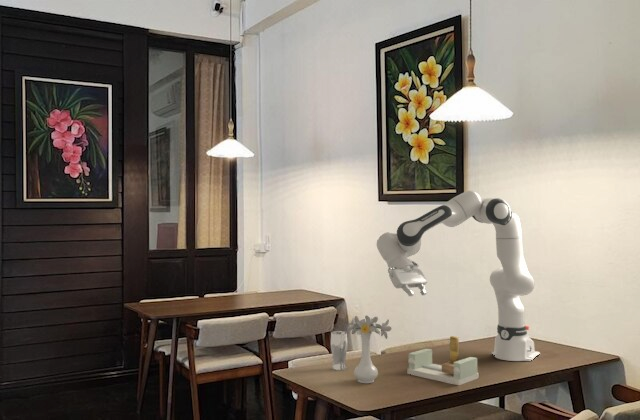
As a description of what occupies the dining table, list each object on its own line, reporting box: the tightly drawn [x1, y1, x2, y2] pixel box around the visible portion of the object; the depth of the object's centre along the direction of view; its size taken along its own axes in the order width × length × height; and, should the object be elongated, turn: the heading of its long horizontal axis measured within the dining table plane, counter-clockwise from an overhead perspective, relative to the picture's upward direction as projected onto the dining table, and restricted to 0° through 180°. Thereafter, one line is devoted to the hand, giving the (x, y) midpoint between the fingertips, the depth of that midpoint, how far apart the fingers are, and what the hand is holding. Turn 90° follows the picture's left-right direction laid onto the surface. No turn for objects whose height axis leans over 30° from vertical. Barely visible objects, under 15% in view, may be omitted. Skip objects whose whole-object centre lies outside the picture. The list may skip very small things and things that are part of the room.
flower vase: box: [345, 315, 392, 384], centre depth 249 cm, size 13×18×25 cm
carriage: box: [441, 335, 460, 374], centre depth 252 cm, size 10×5×13 cm, turn 135°
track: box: [406, 348, 480, 386], centre depth 256 cm, size 14×24×8 cm, turn 45°
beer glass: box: [330, 330, 348, 372], centre depth 267 cm, size 7×7×15 cm
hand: (418, 295), depth 263 cm, fingers open, 8 cm apart
